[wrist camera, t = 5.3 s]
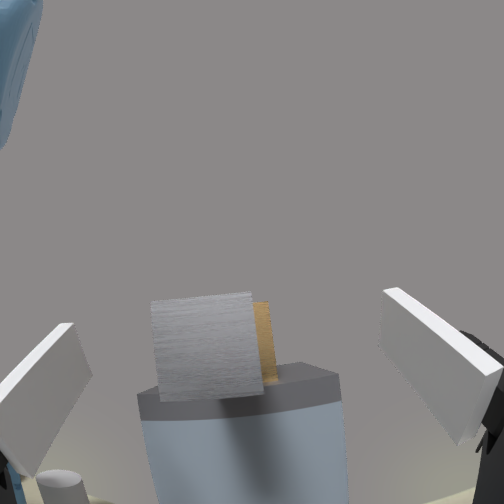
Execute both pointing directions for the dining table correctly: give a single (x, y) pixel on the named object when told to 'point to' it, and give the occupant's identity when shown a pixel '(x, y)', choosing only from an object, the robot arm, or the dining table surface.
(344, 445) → the block
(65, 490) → the white cylinder
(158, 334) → the block
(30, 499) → the dining table surface
